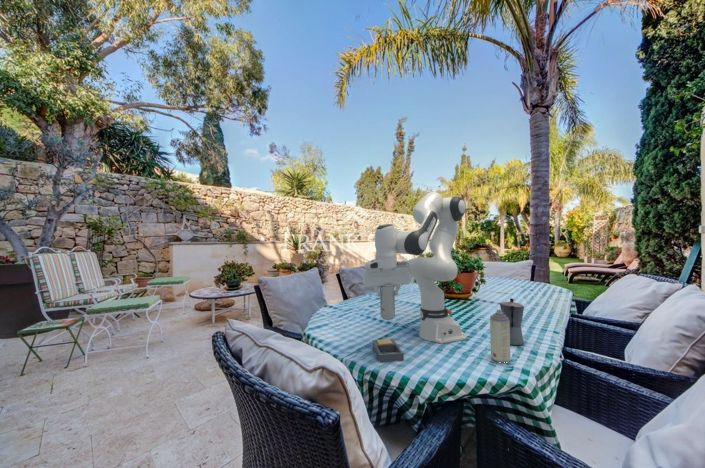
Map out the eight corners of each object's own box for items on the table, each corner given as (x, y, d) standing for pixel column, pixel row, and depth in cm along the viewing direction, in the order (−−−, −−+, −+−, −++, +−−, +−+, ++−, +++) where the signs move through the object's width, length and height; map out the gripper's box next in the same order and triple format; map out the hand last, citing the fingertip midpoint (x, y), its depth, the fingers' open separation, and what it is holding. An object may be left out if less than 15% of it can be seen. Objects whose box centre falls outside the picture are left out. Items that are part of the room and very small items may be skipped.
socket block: (393, 345, 126) (393, 337, 126) (403, 360, 111) (403, 352, 111) (372, 346, 125) (372, 339, 125) (379, 362, 110) (379, 354, 110)
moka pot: (522, 337, 130) (521, 296, 130) (527, 351, 116) (526, 304, 116) (500, 335, 134) (498, 294, 134) (502, 347, 120) (501, 302, 120)
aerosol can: (498, 354, 114) (497, 306, 114) (514, 361, 107) (513, 310, 107) (487, 357, 111) (485, 308, 111) (502, 365, 105) (501, 313, 105)
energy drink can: (379, 315, 118) (378, 281, 118) (393, 315, 118) (392, 281, 118) (381, 320, 112) (380, 284, 112) (396, 320, 112) (395, 284, 112)
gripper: (407, 260, 119) (408, 292, 120) (361, 263, 117) (362, 295, 117) (412, 262, 113) (413, 295, 113) (363, 265, 110) (365, 299, 110)
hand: (387, 295), depth 115 cm, fingers closed on energy drink can, 6 cm apart
